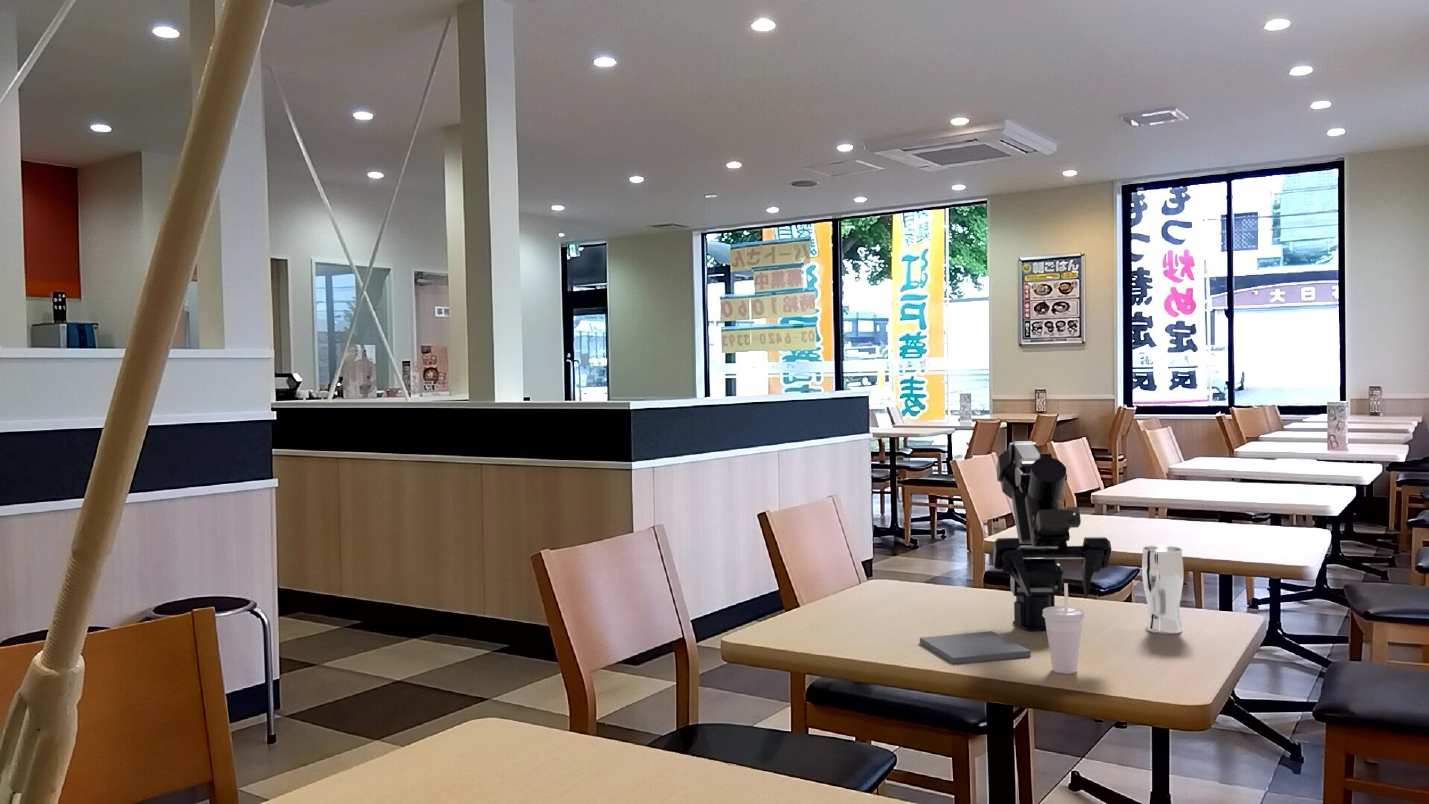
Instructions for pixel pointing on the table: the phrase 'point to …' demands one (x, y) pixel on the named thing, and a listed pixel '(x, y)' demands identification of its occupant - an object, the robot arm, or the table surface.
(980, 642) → the placemat
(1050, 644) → the smoothie
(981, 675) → the table surface
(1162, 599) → the beer glass
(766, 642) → the table surface
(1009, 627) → the table surface
